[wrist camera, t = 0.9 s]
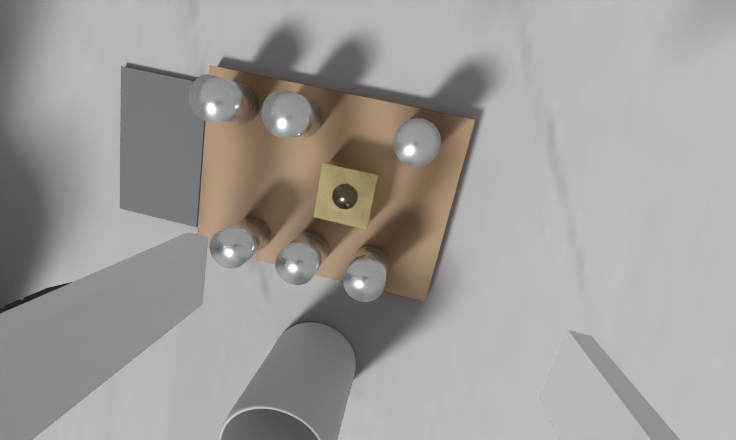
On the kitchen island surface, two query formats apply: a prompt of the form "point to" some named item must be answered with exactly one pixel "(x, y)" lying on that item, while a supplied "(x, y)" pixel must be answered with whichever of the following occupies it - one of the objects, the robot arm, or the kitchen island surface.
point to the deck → (302, 174)
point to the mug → (296, 388)
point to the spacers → (292, 120)
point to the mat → (160, 147)
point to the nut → (346, 194)
